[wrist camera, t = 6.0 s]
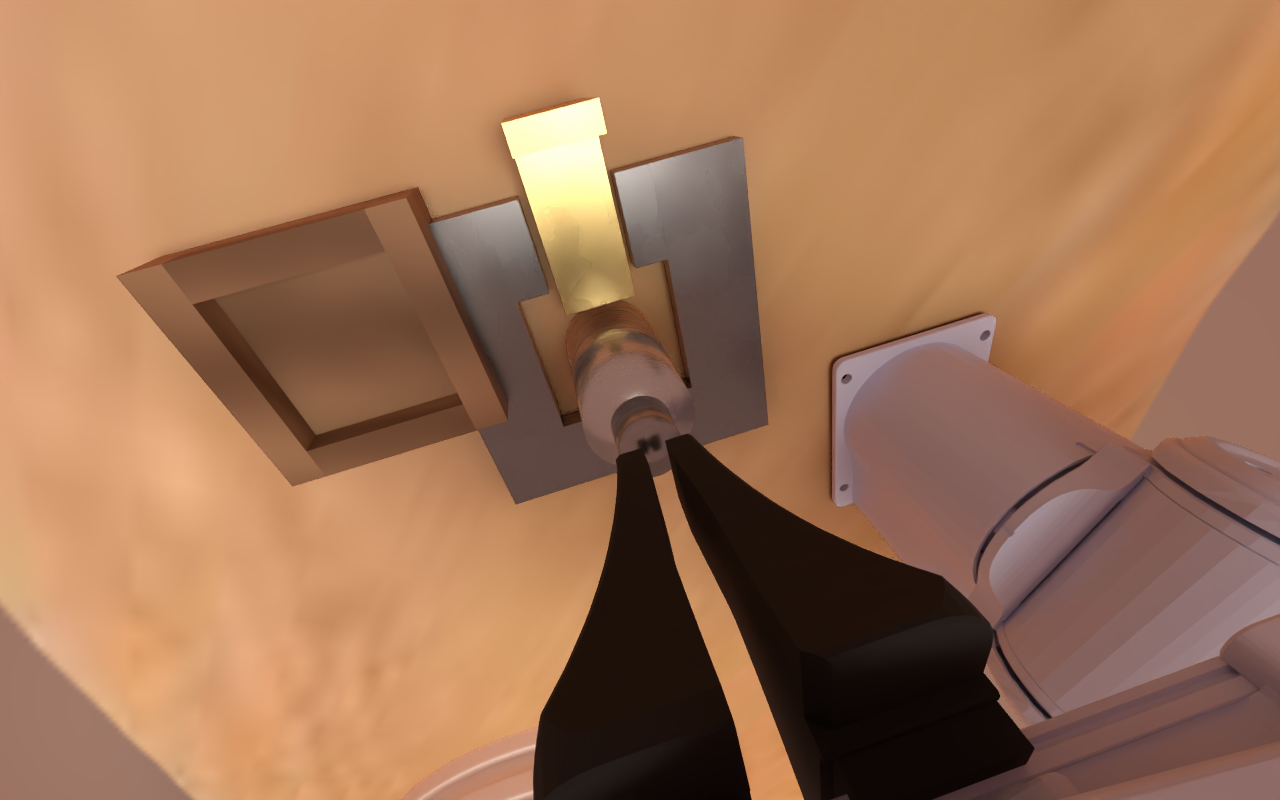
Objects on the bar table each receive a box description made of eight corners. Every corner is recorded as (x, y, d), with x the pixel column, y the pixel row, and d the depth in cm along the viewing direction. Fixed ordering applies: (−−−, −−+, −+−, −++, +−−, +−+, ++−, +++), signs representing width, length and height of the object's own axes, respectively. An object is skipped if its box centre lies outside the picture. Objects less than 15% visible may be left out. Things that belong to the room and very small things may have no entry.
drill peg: (657, 364, 21) (718, 477, 14) (579, 387, 20) (608, 513, 14) (640, 288, 19) (702, 381, 13) (554, 314, 19) (574, 421, 12)
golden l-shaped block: (626, 281, 18) (647, 315, 16) (562, 299, 18) (571, 337, 15) (582, 98, 15) (598, 97, 12) (503, 119, 15) (501, 123, 12)
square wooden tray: (508, 394, 20) (507, 420, 18) (311, 453, 19) (292, 486, 18) (417, 187, 16) (406, 197, 14) (160, 257, 15) (115, 276, 13)
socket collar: (761, 415, 23) (768, 424, 23) (515, 492, 23) (515, 504, 22) (733, 136, 17) (742, 137, 16) (386, 231, 16) (381, 237, 15)
